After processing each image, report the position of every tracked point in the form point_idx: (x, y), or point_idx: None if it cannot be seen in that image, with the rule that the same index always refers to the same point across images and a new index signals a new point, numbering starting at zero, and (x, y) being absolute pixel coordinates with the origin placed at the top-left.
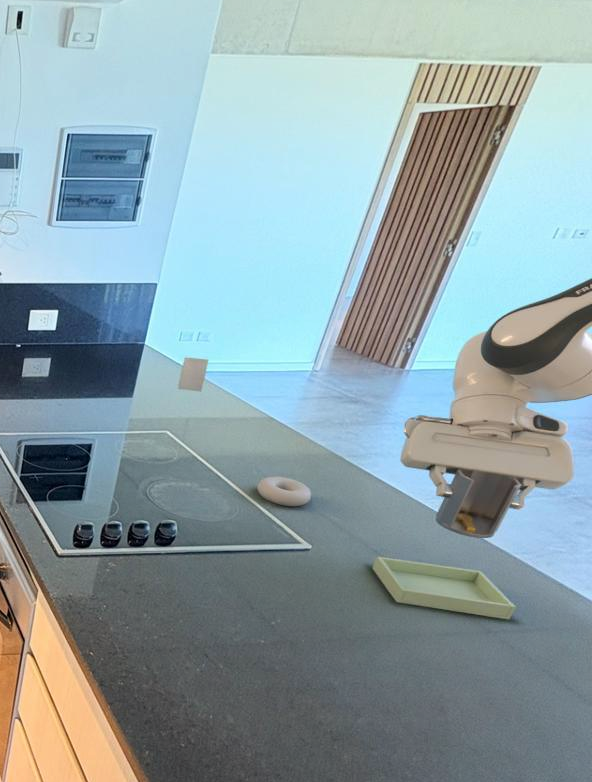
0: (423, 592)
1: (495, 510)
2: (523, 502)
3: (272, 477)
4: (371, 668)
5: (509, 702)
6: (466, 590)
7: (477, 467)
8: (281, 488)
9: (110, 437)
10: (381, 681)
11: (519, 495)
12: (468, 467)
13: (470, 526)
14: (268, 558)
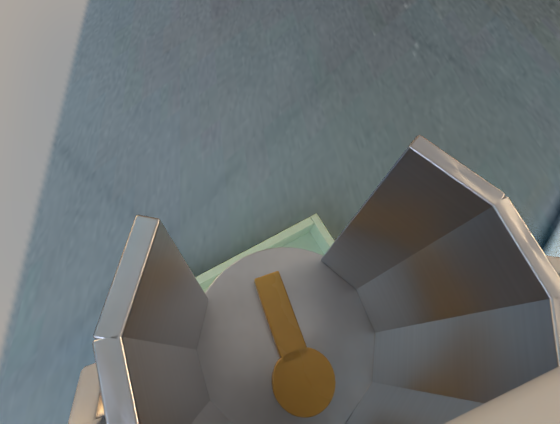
0: (283, 232)
1: (207, 417)
2: (81, 379)
3: None
4: (294, 32)
5: (146, 67)
6: None
7: (507, 405)
8: None
9: None
10: (279, 17)
11: (101, 415)
12: (556, 370)
13: (271, 282)
14: (523, 215)
